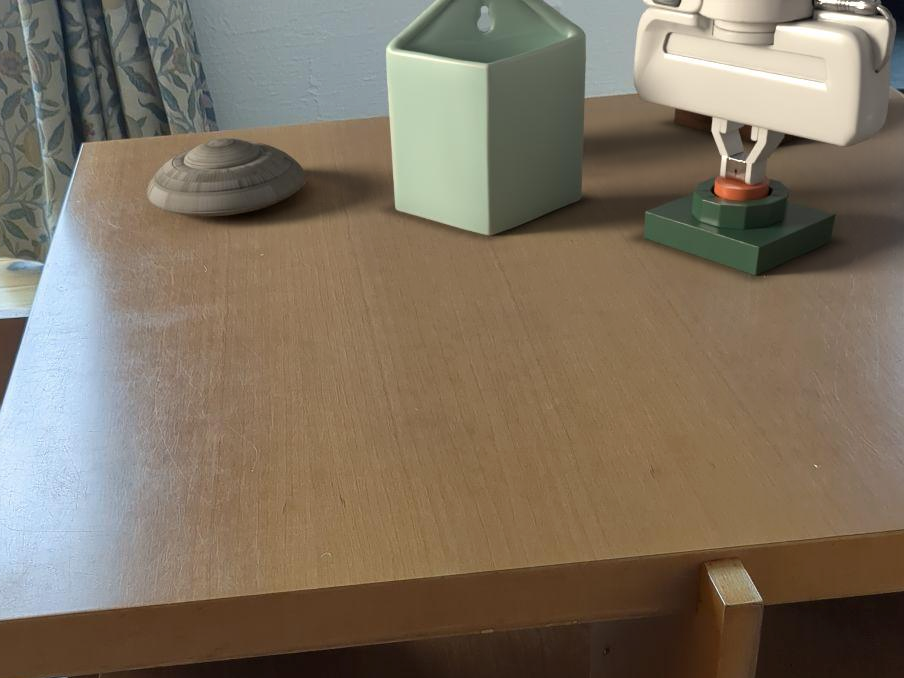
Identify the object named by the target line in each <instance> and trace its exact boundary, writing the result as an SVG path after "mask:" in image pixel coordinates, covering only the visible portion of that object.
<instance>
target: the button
mask: <svg viewBox="0 0 904 678" xmlns="http://www.w3.org/2000/svg"><path fill="white" fill-rule="evenodd" d="M716 177H717V178H716V180H715V188H714V195H715V196H716V197H720V198H723V199H727V200H740V201H748V200H757V199H762V198H765V197H767V196H768V191H769V184H770V180H769V179H770V178H769V177H767V176H766V175H765V178H764V180H763V181H762V182H761V183H758V184H756V185H753V186H752V185H748V184H744V183H741V182H737V181H735V180H730V179H726V178H723V177H721V176H720V175H718V176H716Z"/></svg>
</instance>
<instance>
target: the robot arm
mask: <svg viewBox="0 0 904 678" xmlns="http://www.w3.org/2000/svg"><path fill="white" fill-rule="evenodd" d="M642 1H643V3H644V4H645V5H647V6H648V8H646V9H645V10H644V11H643V13H642V15H641V16H640V19H639V22H638V26H637V31H636V37H635V38H636V40H635V47H634V60H633V86H634V88H635V90H636V93H637V94H638V97H639V98H640V100H641V101H643V102H646V103H650V104H654V105H660V106H664V107H668V108H673V109H675V108H676V109H681V110H685V111H689V112H694V113H698V114H702V115H707V116H711V117H713V120H712V130H711V131H712V132H711V133H712V136H713V138H714V141H715V144H716V147H717V149H718V152H719V154H720V155H719V156H721V161H720V171H719V176H721V177H723V178H726V179H730V180H735V181H737V182H741V183H744V184H748V185H752V186H753V185H756V184H758V183H761V182H762V181H763V180H764V178H765V176H766V175H767V174H766V172H767V165H768V159H770V158H771V156H772V155H773V153H774V152H775V150H776V149H777V148H778V147H779V146H780V145H781V144H780V142H781V141H782V139H783V138H784V135H785V134H790V135H794V136H798V138H803V139H807V140H813V141H816V142H821V143H825V144H828V145H829V144H830V145H833V146H834V145H835V146H837V147H842V148H847V147H853V146H855V145H858V144H860V143H862V142H866V141H867V140H869V139H871V138H873V137H874V136H875V135H876V134H878V132H880V130H882V128H883V127H884V126H885V124H886V121H887V120H886V119H887V115H888V108H889V98H890V86H891V61H892V60H891V59H892V58H891V57H892V54H893V50H894V45H895V44H894V43H895V38H896V33H897V21H896V19H895V18H894V17H893V15H892V13H891V11H890V10H889V9H888V8H887V7H885V6H884V5H882V1H881V0H642ZM877 14H881V15H877ZM744 124H746V125H750V126H752V133H751V139H752V140H754V141H757V143H755V144H754V146H753V148H752V149H751V151H750V152H747V151H745V149H744V144H743V142H742V141H743V140H741V137H740V134H739V130H738V129H739V128H742V127H743V126H744ZM779 144H780V145H779Z"/></svg>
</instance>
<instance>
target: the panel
mask: <svg viewBox="0 0 904 678" xmlns="http://www.w3.org/2000/svg"><path fill="white" fill-rule="evenodd" d="M712 120H713V117H711V116H707V115H702V114H698V113H694V112H689V111H685V110H681V109H676V108H674V121H673V123H674V124H675V125H679V126H683V127H688V128H692V129H695V130H700V131H704V132H709V133H712V131H711V130H712ZM738 130H739V134H740V137H741V141H746V142H749V143H754V144H756V143H757V141H754V140H752V139H751V133H752V126H750V125H746V124H744V126H743V127H742V128H739V129H738ZM798 138H799V137H798V136H794V135H790V134H785V135H784V138H783V139H782V141H781V142H780V144H779V145H778V146H780V145H782V144H785V143H788V142H790V141H794V140H795V139H798Z"/></svg>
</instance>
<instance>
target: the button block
mask: <svg viewBox="0 0 904 678" xmlns="http://www.w3.org/2000/svg"><path fill="white" fill-rule="evenodd" d="M717 177H718V176H714V177H712V178H709V179H706V180H703V181H700V182H698V183H697V184H696V185H695V188H694V190H693V192H692V193H690V194H687V195H684V196H681V197H679V198H677V199H674V200H672V201H668V202H667V203H664V204H661V205H658V206H656V207H653V208H650V209H648V210H646V211H645V213H644V214H645V215H644V226H643V227H644V228H643V239H646V240H648V241H652V242H655V243H658V244H661V245H664V246H667V247H669V248H673V249H676V250H678V251H680V252H681V251H682V252H684V253H688V254H689V255H694V256H697V257H698V258H699V257H700V258H702V259H705V260H708V261H712V262H714V263H717V264H720V265H723V266H727V267H728V268H732V269H735V270H737V271H741V272H743V273H747V274H749V275H753V276H758V275H760V274H762V273H765V272H766V271H769V270H771V269H774V268H775V267H778V266H780V265H782V264H784V263H787V262H789V261H791V260H793V259H795V258H798V257H800V256H802V255H804V254H807V253H808V252H811V251H813V250H815V249H818V248H820V247H822V246H825V245H827V244H829V243H831V242H832V238H833V232H834V227H835V219H836V213H833V212H829V211H825V210H822V209H818V208H816V207H815V208H814V207H811V206H807V205H803V204H800V203H797V202H792V201H789V196H790V188H789V187H788V186H786V184H784V183H782V182H781V181H780V180H776V179H773V178H769V180H770V184H769V191H768V196H767V197H765V198H762V199H757V200H748V201H740V200H727V199H723V198H720V197H716V196H715V195H714V188H715V180H716V178H717Z"/></svg>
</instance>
